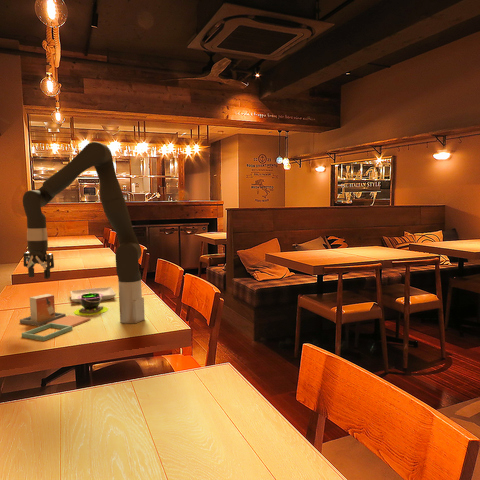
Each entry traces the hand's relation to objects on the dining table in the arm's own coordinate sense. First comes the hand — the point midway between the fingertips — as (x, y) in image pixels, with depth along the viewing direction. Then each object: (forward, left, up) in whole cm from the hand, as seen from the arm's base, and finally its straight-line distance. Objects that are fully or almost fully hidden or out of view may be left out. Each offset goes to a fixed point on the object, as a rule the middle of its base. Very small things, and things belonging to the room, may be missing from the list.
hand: (39, 277), depth 167 cm
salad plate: (+10, -40, -20) cm, 46 cm away
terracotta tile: (-11, -4, -19) cm, 22 cm away
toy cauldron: (-7, -21, -19) cm, 29 cm away
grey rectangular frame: (+2, -2, -19) cm, 19 cm away
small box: (+2, -2, -19) cm, 19 cm away
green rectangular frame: (-14, +10, -19) cm, 26 cm away
